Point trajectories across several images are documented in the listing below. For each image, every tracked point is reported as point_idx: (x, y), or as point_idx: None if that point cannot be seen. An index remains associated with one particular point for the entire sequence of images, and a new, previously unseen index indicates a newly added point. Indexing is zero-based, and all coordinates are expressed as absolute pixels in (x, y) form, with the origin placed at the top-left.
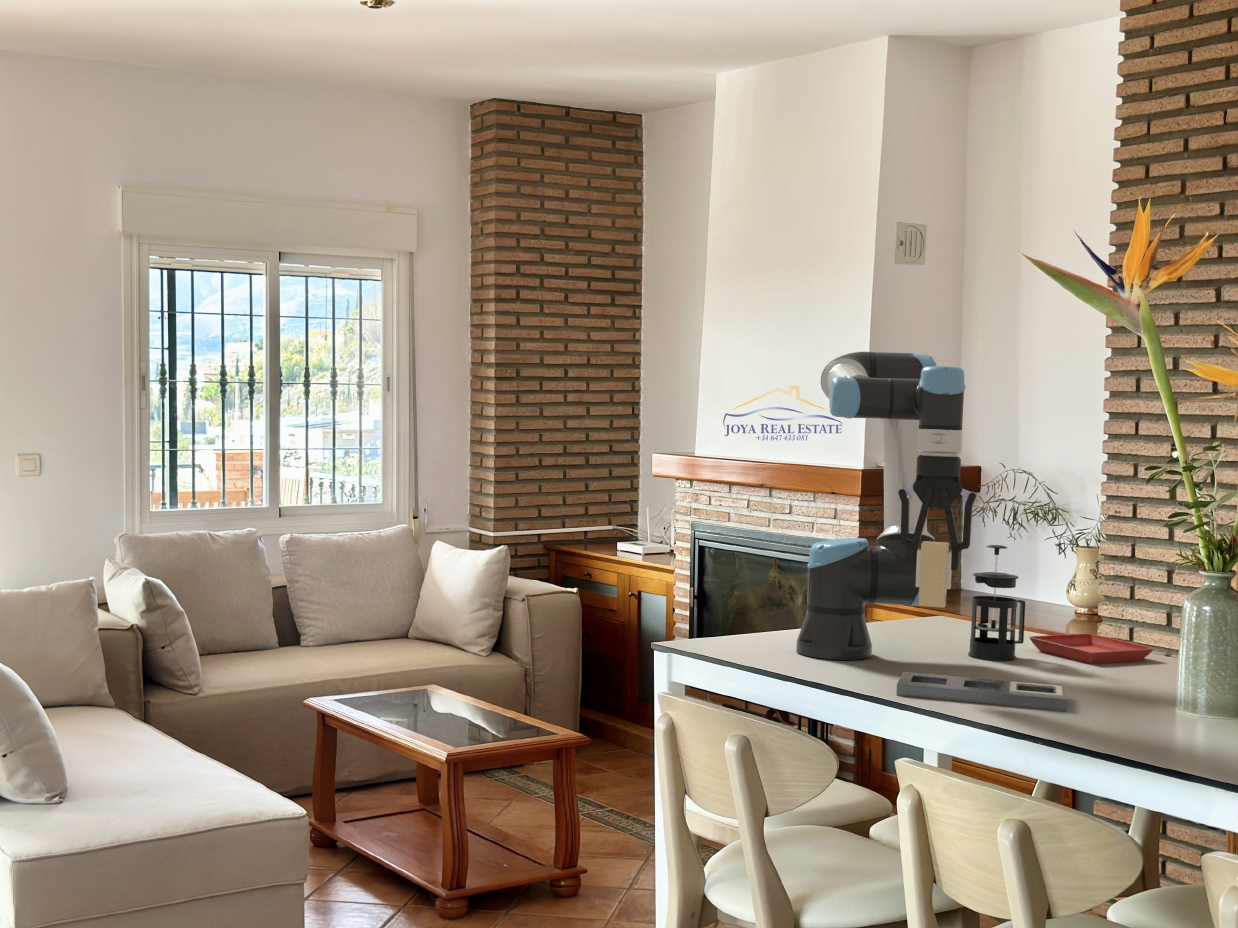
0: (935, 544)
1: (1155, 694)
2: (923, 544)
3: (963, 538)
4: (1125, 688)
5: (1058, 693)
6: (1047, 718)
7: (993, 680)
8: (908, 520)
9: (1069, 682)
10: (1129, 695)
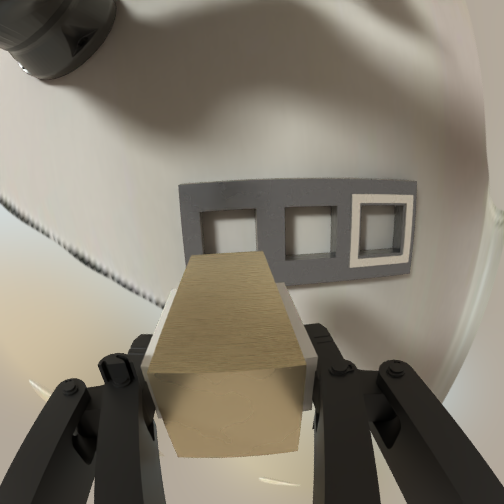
0: (243, 454)
1: (478, 119)
2: (188, 453)
3: (381, 443)
4: (457, 92)
5: (405, 253)
6: (376, 317)
7: (327, 184)
8: (67, 502)
9: (407, 70)
10: (462, 134)
